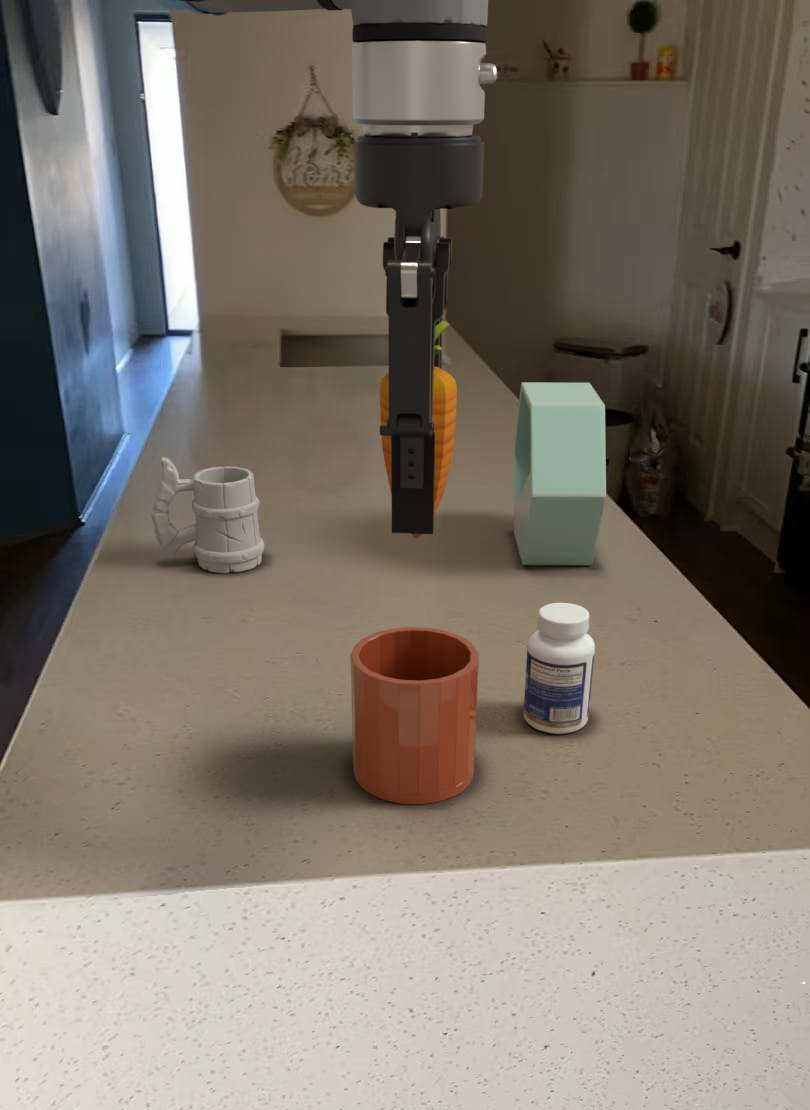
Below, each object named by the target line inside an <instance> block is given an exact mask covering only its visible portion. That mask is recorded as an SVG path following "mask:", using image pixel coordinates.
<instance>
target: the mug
mask: <svg viewBox="0 0 810 1110" xmlns="http://www.w3.org/2000/svg"><path fill="white" fill-rule="evenodd" d="M160 463H161V474H160V475H161V476H160V477H159V482H158V487H157V490H156V493H155V498H154V501H153V505H152V510H151V512H150V513H151V515H150V516H151V519H152V522H153V527H154V534H155V539H156V540H157V543H158V544H159V546H160V547H162V548H163V550H164V551H165V553H166V555H167V557H173V556H174V555H176V553H177V552H178V551H179V549H180V548H182V547H183V546H185V545H186V544H189V543H191V542H194V543H193V546H192V548H193V553H194V555H195V556H196V558H197V564H198V566H199V567H200V568H201V569H202V570H205V571H209V572H210V573H211V572H212V573H219V574H229V573H230V572H231V573H240V572H246V571H248V570H252V569H254V568H256V567H257V566H259V565H260V564H262V562H263V561H262V560H263V556H262V554H263V553H264V551H265V550H264V549H265V548H266V547H265V545H266V544H265V542H264V540H263V538H262V537H261V535H260V525H259V517H258V510H259V508H260V506H261V504H260V503H261V502H260V499H259V498H258V496H257V495H256V489H255V487H256V486H255V478H254V473H253V472H252V471H251V470H249V469H248V468H244V467H240V466H232V465H230V466H229V465H227V466H224V467H223V466H213V467H208V468H205V469H204V468H203V469H201V470H199V471H197V472H195V473H194V475H193V478H182V479H181V478H180V476H179V472H178V468H177V467H176V465H175V464H174V463H173V461H172V460H171V459H170V458H167V457H166V456H162V457H161V459H160ZM189 491H190V492H193V496H194V498H193V500H192V501H191V510H192V512H193V513H194V517H195V524H192V525H188V526H186V527H184V528H182V529H180V530H178V528H176V527H175V526H174V525H173V523H171V522H170V514H169V513H170V510H169V507H170V504H171V503H172V502H173V500H174V498H175V497H176V496H177V493H179V492H189Z"/></svg>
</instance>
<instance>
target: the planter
mask: <svg viewBox="0 0 810 1110" xmlns="http://www.w3.org/2000/svg"><path fill="white" fill-rule="evenodd" d="M606 459H607V454H606V405H605V403H604V401H603V400H602V399H601V397H600V396H599V394H598V393H597V391H596V390H595V388H594V387H593V385H592V384H591V383H590V382H553V381H552V382H550V381H549V382H545V381H544V382H543V381H541V382H540V381H539V382H538V381H536V382H535V381H533V382H531V381H529V382H526V381H525V382H524V381H522V382H521V384H520V389H519V400H518V408H517V417H516V428H515V436H514V446H513V534H514V539H515V541H516V546H517V551H518V554H519V557H520V561H521V564H522V565H523V566H593V563H594V560H595V559H594V558H595V553H596V548H597V544H598V539H599V533H600V529H601V524H602V518H603V514H604V510H605V509H604V508H605V504H606V500H607V460H606Z"/></svg>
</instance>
